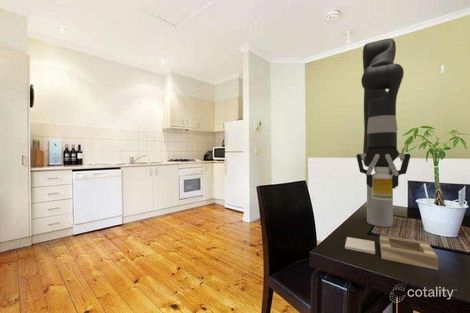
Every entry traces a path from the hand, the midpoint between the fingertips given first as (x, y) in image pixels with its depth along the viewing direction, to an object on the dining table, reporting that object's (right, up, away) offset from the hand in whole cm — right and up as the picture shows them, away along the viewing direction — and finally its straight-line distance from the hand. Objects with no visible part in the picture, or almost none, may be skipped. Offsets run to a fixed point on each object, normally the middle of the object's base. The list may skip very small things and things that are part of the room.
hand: (381, 187), depth 68 cm
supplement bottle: (0, -4, 0) cm, 4 cm away
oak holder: (+5, -19, -3) cm, 20 cm away
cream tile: (-5, -19, +3) cm, 20 cm away
